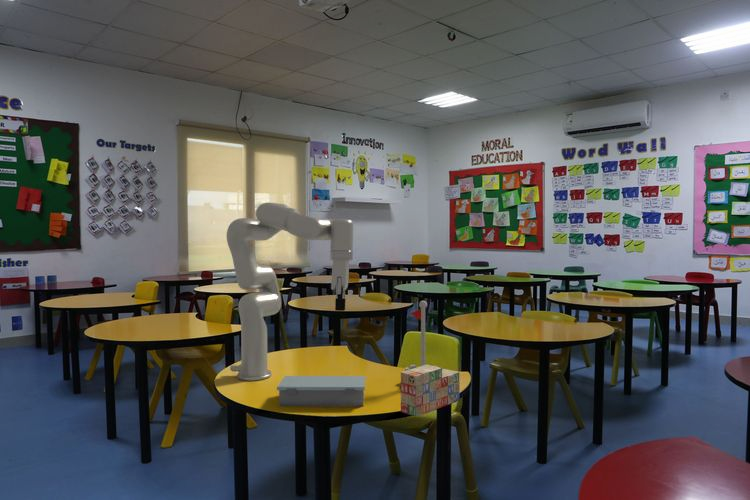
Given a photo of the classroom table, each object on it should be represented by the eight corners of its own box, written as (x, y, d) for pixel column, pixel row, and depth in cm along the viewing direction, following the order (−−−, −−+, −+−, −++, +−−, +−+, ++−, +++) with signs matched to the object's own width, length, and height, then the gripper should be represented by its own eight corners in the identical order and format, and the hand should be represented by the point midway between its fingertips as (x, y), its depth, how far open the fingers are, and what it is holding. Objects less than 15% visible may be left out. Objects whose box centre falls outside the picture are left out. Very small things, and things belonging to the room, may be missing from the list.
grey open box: (279, 406, 147) (279, 390, 147) (286, 393, 159) (286, 379, 159) (363, 406, 147) (363, 390, 147) (364, 394, 159) (364, 379, 159)
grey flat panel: (276, 394, 146) (276, 387, 146) (284, 382, 159) (284, 375, 159) (364, 394, 146) (364, 387, 146) (365, 382, 159) (365, 375, 159)
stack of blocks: (444, 396, 158) (444, 359, 157) (460, 400, 153) (460, 362, 153) (400, 412, 143) (400, 371, 143) (415, 417, 138) (416, 375, 138)
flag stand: (447, 382, 173) (447, 299, 173) (431, 391, 162) (431, 303, 162) (415, 376, 180) (415, 297, 180) (398, 385, 170) (398, 301, 169)
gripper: (332, 254, 168) (331, 306, 168) (327, 256, 153) (326, 313, 153) (354, 255, 167) (353, 307, 168) (350, 257, 152) (349, 314, 153)
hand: (340, 310), depth 161 cm, fingers closed
